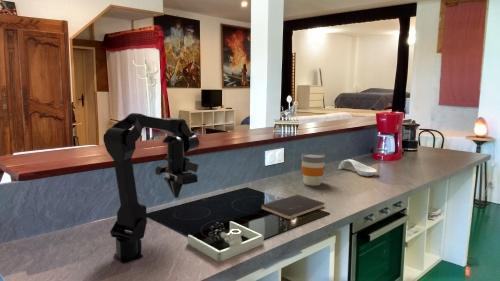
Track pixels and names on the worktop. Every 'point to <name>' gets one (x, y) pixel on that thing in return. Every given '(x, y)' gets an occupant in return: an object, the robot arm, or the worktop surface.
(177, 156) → the robot arm
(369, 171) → the spoon rest
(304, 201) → the hardcover book
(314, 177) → the reusable coffee cup
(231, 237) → the valve
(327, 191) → the worktop surface
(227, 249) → the u-shaped bracket
